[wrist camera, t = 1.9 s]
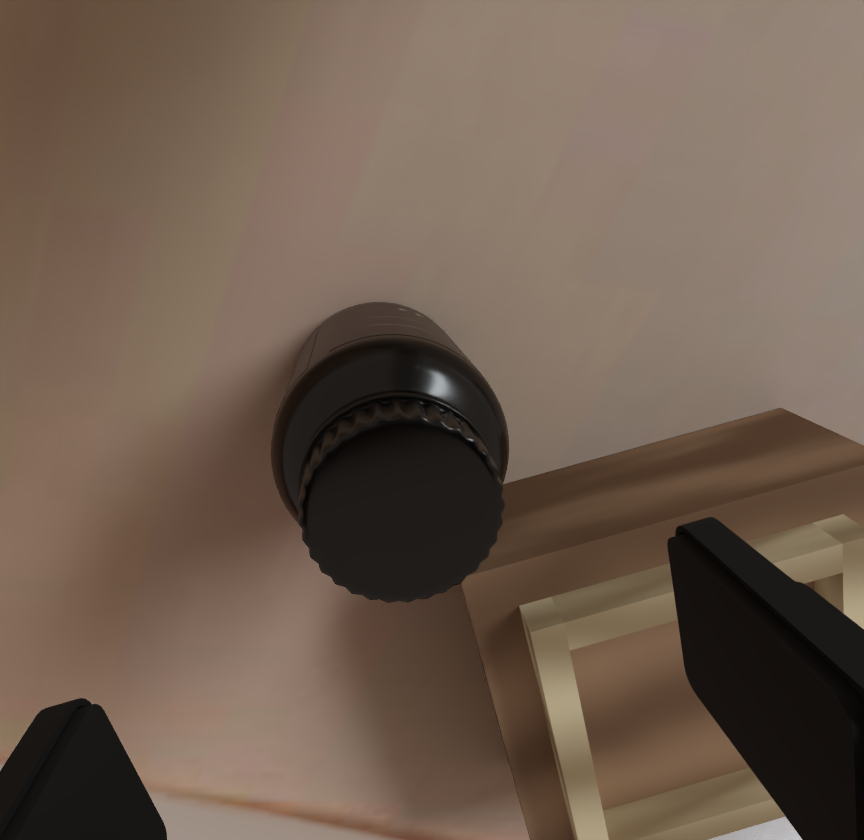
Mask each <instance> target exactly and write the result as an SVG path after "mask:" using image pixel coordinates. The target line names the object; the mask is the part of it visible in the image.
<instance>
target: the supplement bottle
mask: <svg viewBox="0 0 864 840" xmlns="http://www.w3.org/2000/svg"><path fill="white" fill-rule="evenodd" d="M508 458H509V436H508V429H507V424H506V420H505V416H504V413H503V411H502V408H501V405H500V403H499V401H498V399H497V397H496V395H495V393H494V392H493V390H492V389H491V387H490V385H489V384H488V382H487V381H486V380H485V378H484V377H483V376H482V374H481V373H480V372H479V371H478V370H477V368H476V367H475V366H474V365H473V364H472V363H471V362H470V360H469V359H468V358H467V357H466V356H465V355H464V353H463V352H462V351H461V350H460V349H459V348H458V346H457V345H456V344H455V343H454V342H453V341H452V340H451V338H450V337H449V336H448V335H447V334H446V333H445V332H444V331H443V330H442V329H441V328H440V327H439V326H438V325H437V324H436V323H435V322H433V321H432V320H431V319H430V318H428V317H427V316H425V315H423V314H422V313H420V312H418V311H416V310H414V309H411V308H409V307H406V306H403V305H399V304H394V303H386V302H372V303H364V304H359V305H355V306H352V307H349V308H346V309H344V310H342V311H340V312H338V313H336V314H334V315H333V316H331V317H330V318H328V319H327V320H326V321H325V322H323V323H322V324H321V325H320V326H319V327H318V328H317V329H316V330H315V331H314V332H313V333H312V335H311V336H310V337H309V338H308V340H307V342H306V343H305V345H304V346H303V348H302V350H301V352H300V355H299V357H298V359H297V362H296V364H295V367H294V370H293V372H292V375H291V378H290V381H289V383H288V386H287V389H286V391H285V394H284V397H283V400H282V402H281V405H280V408H279V411H278V413H277V417H276V421H275V424H274V429H273V436H272V443H271V462H272V469H273V475H274V479H275V483H276V486H277V489H278V491H279V494H280V496H281V498H282V500H283V502H284V504H285V506H286V508H287V509H288V511H289V512H290V514H291V515H292V517H293V518H294V519H295V520H296V522H297V523H298V524H299V525H300V526H301V528H302V529H303V530H302V540H303V541H304V543H305V544H306V545H307V546H308V547H309V553H310V557H311V558H312V559H313V560H314V561H316V562H317V563H318V564H319V567H320V570H321V572H322V573H324V574H326V575H328V576H330V577H331V578H332V579H333V581H334V583H335V584H336V585H339V586H343V587H346V588H347V589H348V591H350V592H351V593H352V594H359V595H363V596H365V597H366V598H367V599H369V600H377V599H380V600H383V601H385V602H388V603H390V602H395V601H403V602H411V601H413V600H415V599H428V598H429V597H431V596H432V595H434V594H436V593H444V592H446V591H447V590H448V589H449V588H450V587H451V586H453V585H457V584H460V583H462V582H463V581H464V579H465V578H466V577H467V575H469V574H472V573H474V572H475V571H476V570H477V569H478V567H479V565H480V563H481V562H482V561H484V560H485V559H486V558H487V557H488V556H489V553H490V548H491V547H492V546H493V545H494V544H495V543H496V541H497V537H498V536H497V532H498V530H499V529H500V527H501V526H502V524H503V520H502V515H501V514H502V512H503V510H504V507H505V502H504V500H503V497H502V493H503V481H504V478H505V474H506V471H507V465H508Z"/></svg>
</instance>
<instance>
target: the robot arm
mask: <svg viewBox="0 0 864 840" xmlns="http://www.w3.org/2000/svg"><path fill="white" fill-rule="evenodd" d="M667 547H668V555H669V562H670V569H671V576H672V583H673V590H674V597H675V604H676V611H677V618H678V626H679V633H680V640H681V647H682V654H683V661H684V668H685V672H686V676H687V678H688V681H689V683H690V685H691V687H692V689H693V691H694V692H695V694H696V695H697V697H698V698H699V699H700V701H701V702H702V703H703V705H704V706H705V707H706V709H707V710H708V711H709V713H710V714H711V716H712V717H713V718H714V720H715V721H716V722H717V724H718V725H719V726H720V728H721V729H722V731H723V732H724V733H725V735H726V736H727V737H728V739H729V740H730V741H731V743H732V744H733V745H734V747H735V748H736V750H737V751H738V752H739V754H740V755H741V756H742V758H743V759H744V760H745V762H746V763H747V764H748V766H749V767H750V769H751V770H752V771H753V773H754V774H755V775H756V777H757V778H758V779H759V781H760V782H761V784H762V785H763V786H764V788H765V789H766V790H767V792H768V793H769V794H770V796H771V797H772V798H773V800H774V801H775V803H776V804H777V805H778V807H779V808H780V809H781V811H782V812H783V813H784V815H785V816H786V817H787V819H788V820H789V822H790V823H791V824H792V826H793V827H794V828H795V830H796V831H797V832H798V834H799V835H800V837H801V838H802V839H803V840H864V629H863V628H861V627H860V626H859V625H858V624H856V623H855V622H854V621H852V620H851V619H850V618H849V617H847V616H846V615H845V614H844V613H842V612H841V611H840V610H838V609H837V608H836V607H835V606H833V605H832V604H831V603H829V602H828V601H827V600H826V599H824V598H823V597H822V596H821V595H819V594H818V593H817V592H815V591H814V590H813V589H812V588H810V587H808V586H807V585H805V584H803V583H802V582H796V581H794V580H793V579H791V578H790V577H789V576H788V575H786V574H785V573H784V572H783V571H781V570H780V569H779V568H778V567H776V566H775V565H774V564H773V563H771V562H770V561H769V560H768V559H766V558H765V557H764V556H763V555H761V554H760V553H759V552H758V551H756V550H755V549H754V548H753V547H751V546H750V545H749V544H748V543H746V542H745V541H744V540H742V539H741V538H740V537H739V536H737V535H736V534H735V533H734V532H732V531H731V530H730V529H729V528H727V527H726V526H725V525H724V524H722V523H721V522H720V521H719V520H717V519H716V518H714V517H707V518H704V519H701V520H697V521H694V522H690V523H687V524H683V525H680V526H678V527H677V528H676V531H675V537H671V538H669V539H668V542H667ZM0 840H167V833H166V828H165V825H164V823H163V821H162V819H161V817H160V815H159V813H158V811H157V810H156V808H155V806H154V804H153V802H152V800H151V798H150V796H149V794H148V792H147V791H146V789H145V787H144V785H143V783H142V781H141V779H140V777H139V776H138V774H137V772H136V770H135V768H134V766H133V764H132V762H131V760H130V759H129V757H128V755H127V753H126V751H125V749H124V747H123V745H122V743H121V742H120V740H119V738H118V736H117V734H116V732H115V730H114V728H113V727H112V725H111V723H110V721H109V719H108V717H107V715H106V713H105V711H104V710H103V708H102V707H101V706H99V705H98V704H93V705H92V704H91V703H90V702H89V701H88V700H86V699H83V698H79V699H76V700H72V701H69V702H65V703H62V704H59V705H55V706H52V707H48V708H45V709H43V710H41V711H40V712H39V713H38V715H37V716H36V717H35V719H34V720H33V722H32V723H31V725H30V726H29V728H28V729H27V731H26V732H25V734H24V735H23V737H22V739H21V740H20V742H19V743H18V745H17V746H16V748H15V749H14V751H13V752H12V754H11V755H10V757H9V758H8V760H7V761H6V763H5V765H4V766H3V768H2V769H1V771H0Z"/></svg>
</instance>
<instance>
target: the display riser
mask: <svg viewBox="0 0 864 840" xmlns="http://www.w3.org/2000/svg"><path fill="white" fill-rule="evenodd" d="M502 497H503V500H504V502H505V507H504V510H503V512H502V514H501V515H502V520H503V524H502V526H501V527H500V529H499V530H498V532H497V536H498V537H497V541H496V543H495V544H494V545H493V546H492V547H491V548H490V553H489V556H488V557H487V558H486V559H485V560H484V561H482V562H481V563H480V565H479V567H478V569H477V570H476V571H475V572H474V573H472V574H469V575H467V577H466V578H465V579H464V581H463V582H462V583H461V587H462V591H463V594H464V598H465V602H466V606H467V609H468V613H469V617H470V620H471V624H472V628H473V631H474V635H475V639H476V642H477V646H478V650H479V654H480V657H481V661H482V665H483V668H484V672H485V676H486V679H487V683H488V687H489V691H490V694H491V698H492V702H493V705H494V709H495V713H496V716H497V720H498V724H499V727H500V731H501V735H502V739H503V742H504V746H505V750H506V753H507V757H508V761H509V764H510V768H511V772H512V775H513V779H514V783H515V786H516V790H517V793H518V797H519V801H520V804H521V808H522V811H523V815H524V819H525V822H526V826H527V830H528V833H529V837H530V840H707V839H711V838H714V837H717V836H721V835H724V834H727V833H731V832H734V831H738V830H741V829H744V828H748V827H751V826H754V825H758V824H761V823H765V822H768V821H771V820H775V819H778V818H781V817H785V815H784V813H783V812H782V811H781V809H780V808H779V807H778V805H777V804H776V803H775V801H774V800H773V798H772V797H771V796H770V794H769V793H768V792H767V790H766V789H765V788H764V786H763V785H762V784H761V782H760V781H759V779H758V778H757V777H756V775H755V774H754V773H753V771H752V770H751V769H750V767H749V766H748V764H747V763H746V762H745V760H744V759H743V758H742V756H741V755H740V754H739V752H738V751H737V750H736V748H735V747H734V745H733V744H732V743H731V741H730V740H729V739H728V737H727V736H726V735H725V733H724V732H723V731H722V729H721V728H720V726H719V725H718V724H717V722H716V721H715V720H714V718H713V717H712V716H711V714H710V713H709V711H708V710H707V709H706V707H705V706H704V705H703V703H702V702H701V701H700V699H699V698H698V697H697V695H696V694H695V692H694V691H693V689H692V687H691V685H690V683H689V681H688V678H687V676H686V672H685V668H684V661H683V654H682V647H681V640H680V633H679V626H678V618H677V611H676V604H675V597H674V590H673V583H672V576H671V569H670V562H669V555H668V547H667V542H668V539H669V538H671V537H675V531H676V528H677V527H678V526H680V525H683V524H687V523H690V522H694V521H697V520H701V519H704V518H707V517H714V518H716V519H717V520H719V521H720V522H721V523H722V524H724V525H725V526H726V527H727V528H729V529H730V530H731V531H732V532H734V533H735V534H736V535H737V536H739V537H740V538H741V539H742V540H744V541H745V542H746V543H748V544H749V545H750V546H751V547H753V548H754V549H755V550H756V551H758V552H759V553H760V554H761V555H763V556H764V557H765V558H766V559H768V560H769V561H770V562H771V563H773V564H774V565H775V566H776V567H778V568H779V569H780V570H781V571H783V572H784V573H785V574H786V575H788V576H789V577H790V578H791V579H793V580H794V581H796V582H802V583H803V584H805V585H807V586H808V587H810V588H812V589H813V590H814V591H815V592H817V593H818V594H819V595H821V596H822V597H823V598H824V599H826V600H827V601H828V602H829V603H831V604H832V605H833V606H835V607H836V608H837V609H838V610H840V611H841V612H842V613H844V614H845V615H846V616H847V617H849V618H850V619H851V620H852V621H854V622H855V623H856V624H858V625H859V626H860V627H861V628H863V629H864V446H863V445H861V444H859V443H857V442H854V441H852V440H850V439H848V438H846V437H844V436H841V435H839V434H837V433H835V432H833V431H831V430H828V429H826V428H824V427H822V426H820V425H817V424H815V423H813V422H811V421H809V420H807V419H804V418H802V417H800V416H798V415H796V414H793V413H791V412H789V411H787V410H785V409H783V408H779V409H775V410H772V411H768V412H764V413H761V414H757V415H753V416H750V417H746V418H743V419H739V420H735V421H732V422H728V423H725V424H721V425H717V426H714V427H710V428H706V429H703V430H699V431H696V432H692V433H688V434H685V435H681V436H678V437H674V438H670V439H667V440H663V441H659V442H656V443H652V444H649V445H645V446H641V447H638V448H634V449H630V450H627V451H623V452H620V453H616V454H612V455H609V456H605V457H602V458H598V459H594V460H591V461H587V462H583V463H580V464H576V465H573V466H569V467H565V468H562V469H558V470H555V471H551V472H547V473H544V474H540V475H536V476H533V477H529V478H526V479H522V480H518V481H515V482H511V483H507V484H504V485H503V493H502Z"/></svg>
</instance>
